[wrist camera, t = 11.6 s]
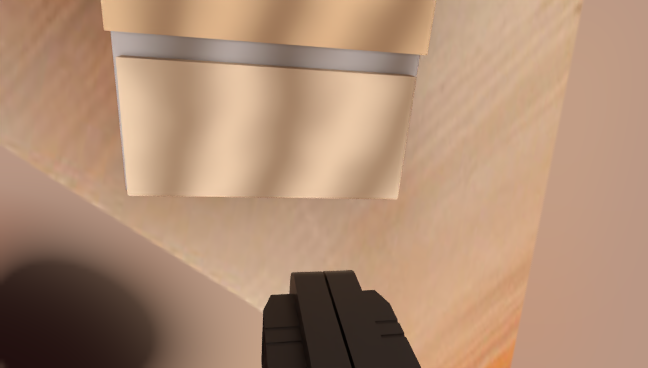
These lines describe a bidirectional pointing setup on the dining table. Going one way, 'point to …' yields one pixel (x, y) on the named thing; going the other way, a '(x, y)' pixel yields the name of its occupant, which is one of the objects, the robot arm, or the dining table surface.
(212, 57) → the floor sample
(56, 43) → the dining table surface
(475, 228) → the dining table surface
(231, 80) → the plank
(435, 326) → the dining table surface
